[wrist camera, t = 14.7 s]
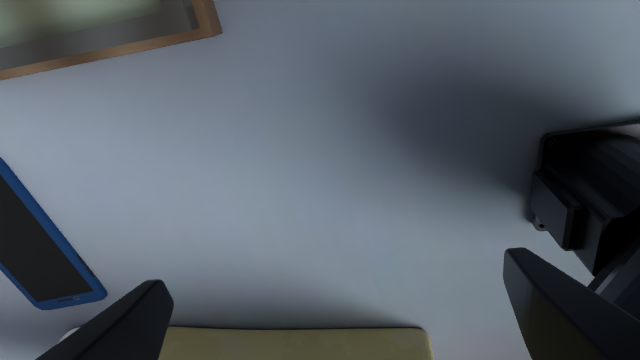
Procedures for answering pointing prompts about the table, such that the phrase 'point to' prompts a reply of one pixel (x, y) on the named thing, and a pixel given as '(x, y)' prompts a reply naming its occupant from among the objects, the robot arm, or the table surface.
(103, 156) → the table surface
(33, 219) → the cell phone
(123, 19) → the picture frame
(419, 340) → the cheese
